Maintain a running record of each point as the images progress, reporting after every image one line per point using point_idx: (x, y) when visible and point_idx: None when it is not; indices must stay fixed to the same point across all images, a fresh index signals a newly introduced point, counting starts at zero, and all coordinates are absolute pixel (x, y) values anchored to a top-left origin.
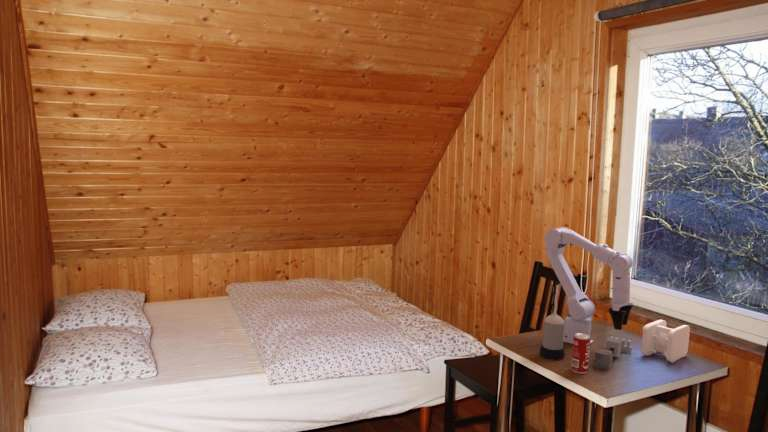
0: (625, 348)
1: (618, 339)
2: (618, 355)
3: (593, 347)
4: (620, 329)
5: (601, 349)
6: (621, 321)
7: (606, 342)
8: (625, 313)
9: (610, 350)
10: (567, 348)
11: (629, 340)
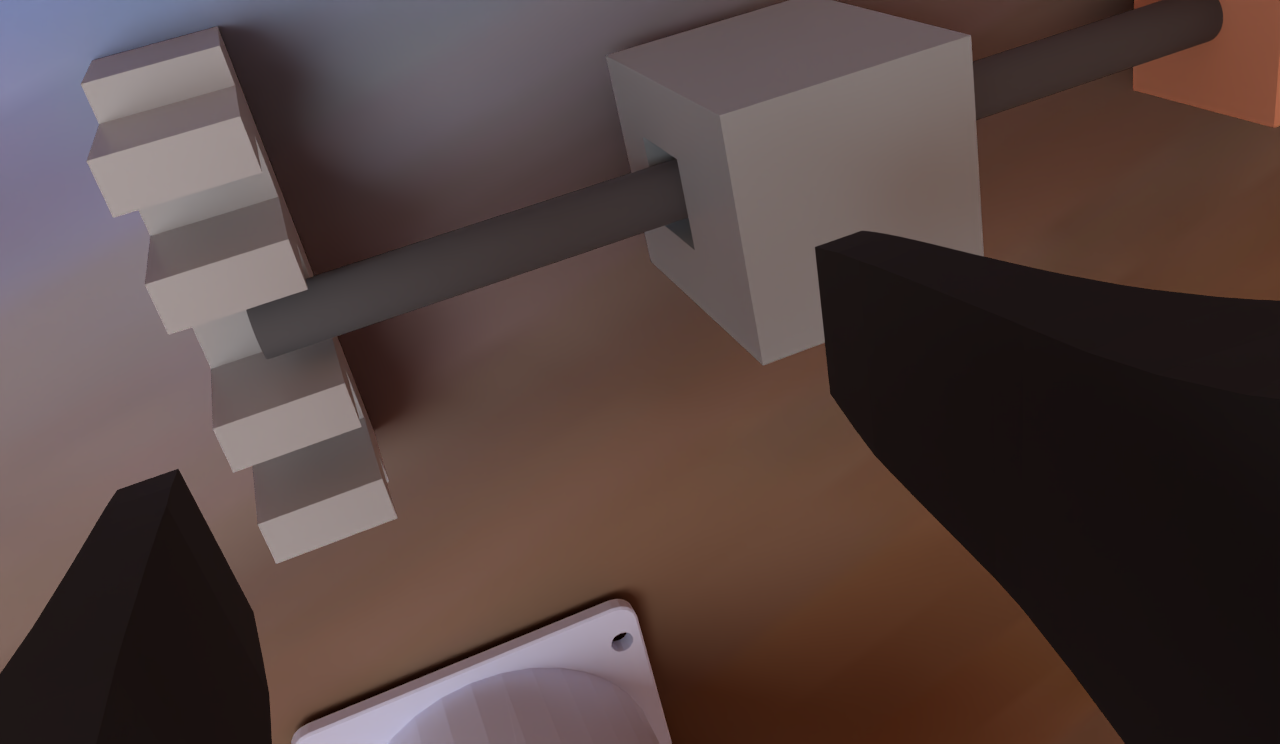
0: (260, 148)
1: (213, 409)
2: (738, 17)
3: (531, 554)
4: (876, 234)
5: (1278, 118)
6: (1104, 297)
7: None
8: None
9: (996, 89)
10: (866, 654)
11: (138, 173)
